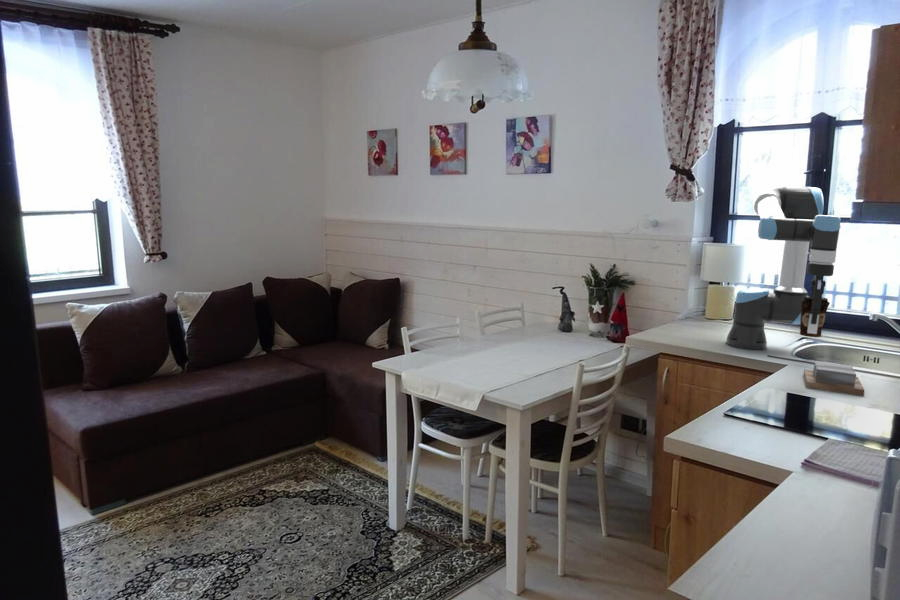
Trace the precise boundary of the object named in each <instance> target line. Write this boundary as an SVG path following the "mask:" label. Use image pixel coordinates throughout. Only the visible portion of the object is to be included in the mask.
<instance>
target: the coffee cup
mask: <svg viewBox="0 0 900 600" xmlns="http://www.w3.org/2000/svg"><path fill="white" fill-rule="evenodd" d="M807 296H808V297H804V299H803V300H802V301H801V319H800V324H799V335H801V336H804V337H809V338H810V337H811V338H822V332H823V331H822V330H823V325H824V324H825V320H826V315H827V311H828V307H829V306H830V304H831V303H830V302H829V301H828V300H829V299H828V298H826V297H823V296H822V301H821V308H820V311H821V312H820V314H819V321H818V328H817V334H811V333H807V330H808V323H809V316H810V314H808V311H811V306H812V297H811V296H809V295H807ZM816 310H817V309H816Z"/></svg>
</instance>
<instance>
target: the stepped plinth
mask: <svg viewBox="0 0 900 600" xmlns="http://www.w3.org/2000/svg"><path fill="white" fill-rule="evenodd" d="M854 369H855V368H854V367H853V366H852V365H845V364H838V363H831V362H823V361H816V360H815V361H814V364H813V369H812V370H811V369H804V370H803V378H805V379H804V382H805V387H809V388H808V389H813V388H815V389H814V390H820V389H822V390H821V391H826V390H829V391H828V392H833V391H834V393H840V394H841V393H842V394H848V395H853V396H854V395H855V396H861V397H862V396H863V397H864V396H865V388H864V386H863V385H862V382H861V381H860V379H859V377H858V376H857V373H856V372H855V370H854Z"/></svg>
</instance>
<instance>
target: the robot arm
mask: <svg viewBox="0 0 900 600" xmlns="http://www.w3.org/2000/svg"><path fill="white" fill-rule="evenodd" d="M824 206H825V205H824V195H823V191H822V189H821V188H819V187H815V186H814V187H812V186H795V185H794V186H793V185H789V186H788V185H786V186H785V185H784V186H783V185H773V186H771V187H768V188H767V187H766V188H765V189H762V190H761V191H760V192H759V193H757V195H756V196H755V197H754V199H753V205H752V207H753V209H754V212H755V213H756V214H757V215H758V216H759V218H760V220H759V222H758V229H757V233H758V234H757V235H758V238H759V239H761V240H768V241H784V245H783V252H782V253H783V255H782V262H781V271H780V279H779V285H778V286H776V287H775V288H774V292H772V293H771V292H770V291H769V289H767V288H759V287H758V288H757V287H755V288H743V289H740V290H738V291H737V293H736V298H735V304H734V314H733V321H732V325H731V328H730V330H729V332H728V334H727V336H726V340H725V343H726V344H727V345H729V346H732V347H735V348H740V349H746V350H765V349H766V348H767V345H768V342H767V335H766V331H765V324H766V322H767V323H776V324H777V323H778V324H787V325H800V319H801V301H802V300H803V299H804V297H808V296H809V295H808V291H807V290H806V288H805V286H804V285H805V279H806V273H807V275H811V276H814V277H813V279H811V281H810V285H811V286H810V291H811V292H810V293H811V294H810V297H812V306H811V311H808V314H810V316H809V323H808V330H807V333H811V334H817V328H818V321H819V314H820V312H821V311H820V308H821V301H822V297H823V295H824V292H825V287H826V283H827V282H826V280H824V277H832V276H833V275H834V269H835V265H834V263H835V262H836V257H837V248H838V242H839V235H840V230H841V228H842V227H841V217H840V216H838V215H829V214H828V215H826V214H823V213H824V208H825V207H824ZM808 261H809V262H808ZM807 262H808V263H807ZM816 309H817V310H816Z"/></svg>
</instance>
